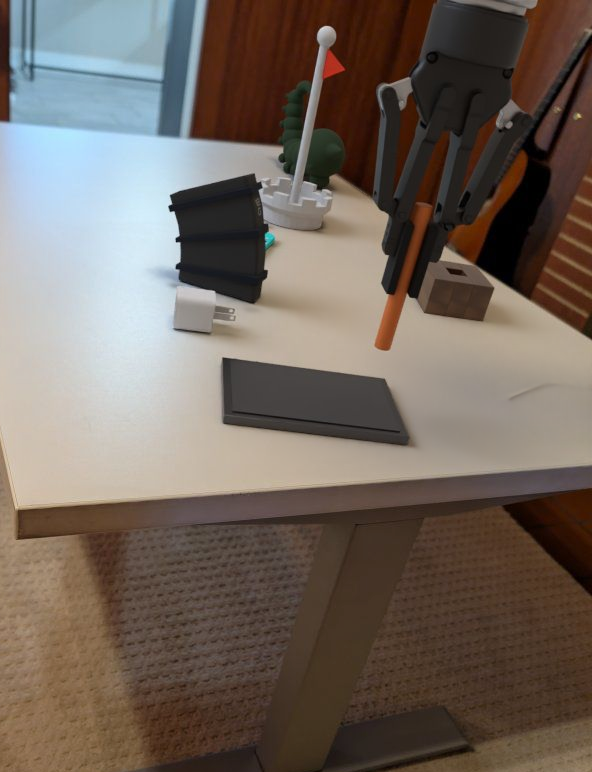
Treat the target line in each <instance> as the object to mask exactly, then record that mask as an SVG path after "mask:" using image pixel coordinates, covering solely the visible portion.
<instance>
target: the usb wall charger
mask: <svg viewBox="0 0 592 772" xmlns="http://www.w3.org/2000/svg"><path fill="white" fill-rule="evenodd" d="M173 309H174V310H173V321H172V329H176V330H185V331H193V332H201V333H207V334H208V333H209V334H212V329H213V322H214V320H218V321H219V320H220V321H225V322H236V317H237V316H236V315H235V312H236V309H235V308H233V307H229V306H222V305H216V292H215V291H212V290H209V289H204V288H195V287H188V286H182V285H177V286H176V294H175V301H174V308H173ZM230 310H232V311H231V312H230ZM231 317H232V318H233V319H231Z"/></svg>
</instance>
